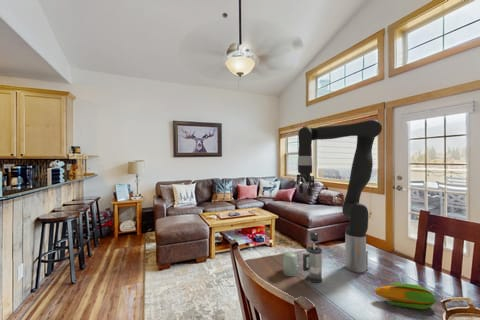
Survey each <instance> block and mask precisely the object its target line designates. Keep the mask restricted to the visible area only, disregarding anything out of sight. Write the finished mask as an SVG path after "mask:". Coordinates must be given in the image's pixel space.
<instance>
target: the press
mask: <svg viewBox="0 0 480 320" xmlns="http://www.w3.org/2000/svg"><path fill="white" fill-rule="evenodd" d="M305 251H306V252H305V253H303V254H302V270H303V271H304V272H306V280H307V281H308V282H310V283H312V284H315V285H316V284H322V283H323V278H322V276H323V273H322V272H323V270H322V269H323V268H322V267H323V249H322V248H321V247H320V246H316V245H315V250H313V245H310V246H309V245H308V246H307V247H306V249H305Z"/></svg>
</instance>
